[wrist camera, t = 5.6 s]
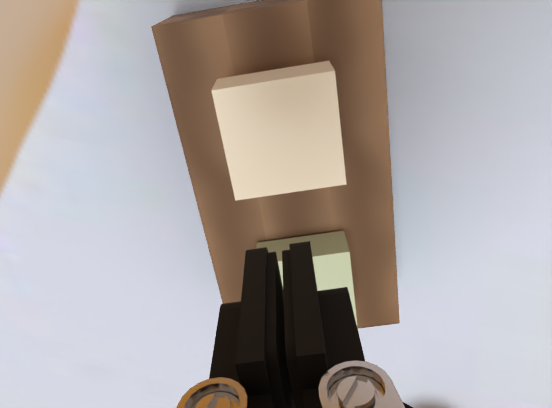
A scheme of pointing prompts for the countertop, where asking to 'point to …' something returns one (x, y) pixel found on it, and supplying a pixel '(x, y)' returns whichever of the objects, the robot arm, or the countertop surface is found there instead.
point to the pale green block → (322, 260)
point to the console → (354, 129)
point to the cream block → (281, 130)
